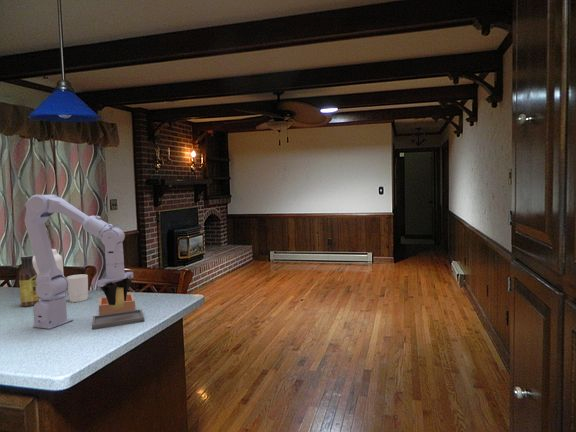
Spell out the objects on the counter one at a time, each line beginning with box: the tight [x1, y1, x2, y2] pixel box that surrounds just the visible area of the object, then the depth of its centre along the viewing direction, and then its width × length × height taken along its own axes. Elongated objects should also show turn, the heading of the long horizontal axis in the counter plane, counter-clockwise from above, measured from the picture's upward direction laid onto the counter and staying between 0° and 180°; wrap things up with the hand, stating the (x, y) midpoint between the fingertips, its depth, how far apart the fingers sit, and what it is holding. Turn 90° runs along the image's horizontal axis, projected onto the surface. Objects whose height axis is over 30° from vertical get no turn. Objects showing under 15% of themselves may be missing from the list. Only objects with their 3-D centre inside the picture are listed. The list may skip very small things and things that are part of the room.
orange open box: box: [98, 293, 136, 315], centre depth 156 cm, size 12×12×4 cm
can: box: [32, 248, 65, 299], centre depth 184 cm, size 12×12×20 cm
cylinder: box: [111, 287, 125, 309], centre depth 142 cm, size 4×4×6 cm
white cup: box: [66, 273, 89, 303], centre depth 172 cm, size 8×8×10 cm
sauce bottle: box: [18, 255, 40, 307], centre depth 167 cm, size 7×6×20 cm
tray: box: [91, 309, 145, 330], centre depth 142 cm, size 11×16×1 cm
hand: (117, 302), depth 142 cm, fingers closed on cylinder, 4 cm apart
